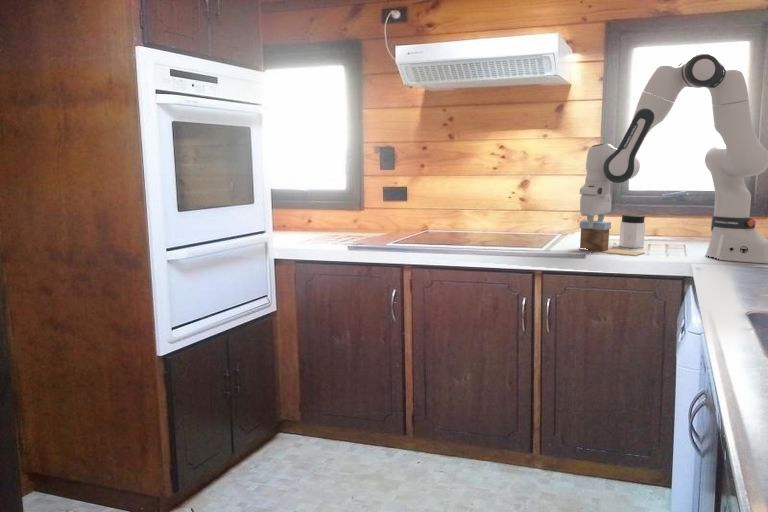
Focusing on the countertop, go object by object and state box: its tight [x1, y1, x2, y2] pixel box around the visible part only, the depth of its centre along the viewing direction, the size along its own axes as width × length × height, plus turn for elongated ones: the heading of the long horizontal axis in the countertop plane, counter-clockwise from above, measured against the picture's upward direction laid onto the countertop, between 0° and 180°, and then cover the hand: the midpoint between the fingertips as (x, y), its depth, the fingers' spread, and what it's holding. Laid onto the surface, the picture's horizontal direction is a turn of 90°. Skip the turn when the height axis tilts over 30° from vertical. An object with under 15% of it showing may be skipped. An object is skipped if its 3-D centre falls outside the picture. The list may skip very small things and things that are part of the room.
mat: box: [601, 248, 646, 257], centre depth 252 cm, size 12×9×1 cm
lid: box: [579, 220, 612, 230], centre depth 258 cm, size 9×6×4 cm, turn 51°
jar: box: [618, 213, 646, 249], centre depth 268 cm, size 9×8×12 cm
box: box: [579, 228, 610, 253], centre depth 258 cm, size 9×5×8 cm, turn 51°
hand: (595, 226), depth 258 cm, fingers closed on lid, 6 cm apart
